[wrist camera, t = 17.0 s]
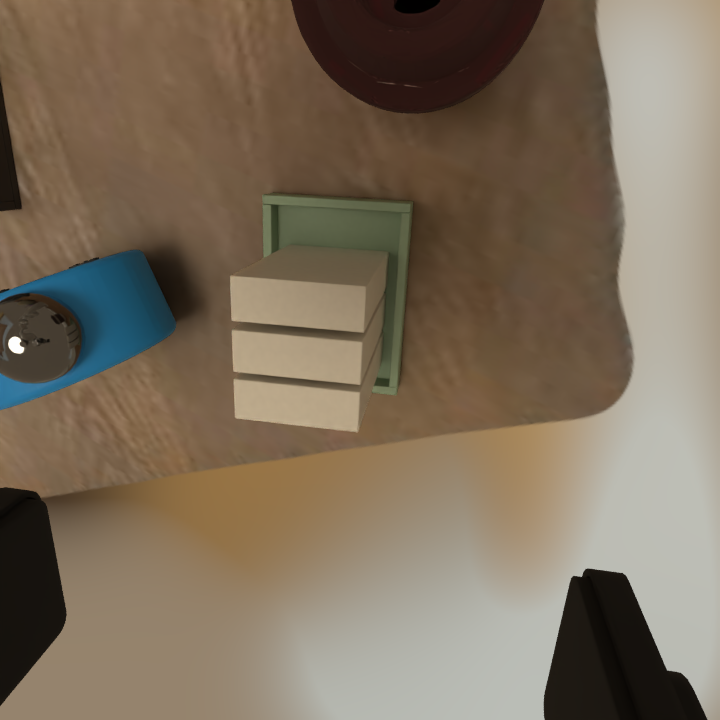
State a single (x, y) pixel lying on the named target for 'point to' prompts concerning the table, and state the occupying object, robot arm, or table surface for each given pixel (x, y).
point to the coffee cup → (414, 47)
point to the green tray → (351, 231)
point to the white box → (311, 288)
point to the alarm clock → (78, 324)
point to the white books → (306, 373)
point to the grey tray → (7, 167)
